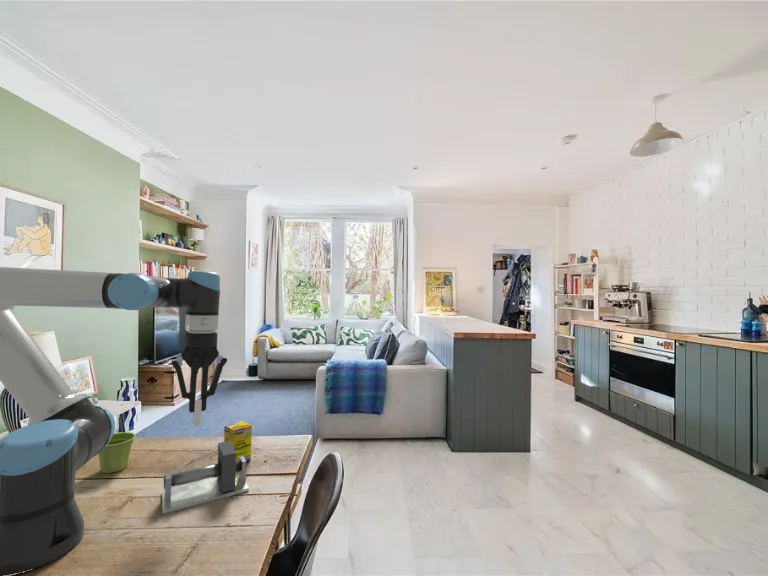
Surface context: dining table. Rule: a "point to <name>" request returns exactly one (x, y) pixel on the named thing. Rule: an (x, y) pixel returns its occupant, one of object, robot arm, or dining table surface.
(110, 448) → the plant pot
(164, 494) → the pipe jig
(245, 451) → the supplement box
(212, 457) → the dining table surface
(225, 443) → the grey slider block
